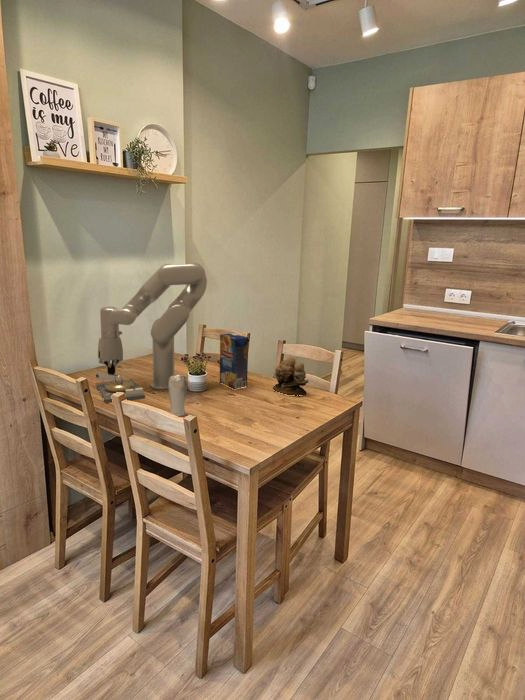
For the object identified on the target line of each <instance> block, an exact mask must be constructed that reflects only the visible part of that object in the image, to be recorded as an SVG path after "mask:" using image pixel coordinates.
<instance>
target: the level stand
mask: <svg viewBox="0 0 525 700" xmlns="http://www.w3.org/2000/svg"><path fill="white" fill-rule="evenodd" d="M128 380H130V381H132V382H133V383H134V388H133V389H127V390H125V392H124V393H125V394H126V399H127V401H132V400H139V399H145V398H146V396H145V393H144V388H143V387H139V386H138V385H137V384H136V382H135V381H134V379H133V378H128ZM107 382H108V381H103V382H96V383H95V386H97V387H96V389H97V390H98V392H99V391H100V392H99V394H100V393H101V394H100V395H102V396H101V397H103V398H104V400H105V401H104V400H103V401H104V403H105V402H112V399H111V395H112V394H113V393H114V392H108V391H106V390H105V384H106V383H107ZM103 398H102V399H103ZM112 403H113V402H112Z"/></svg>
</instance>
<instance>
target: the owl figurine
mask: <svg viewBox="0 0 525 700" xmlns="http://www.w3.org/2000/svg"><path fill="white" fill-rule="evenodd" d="M274 370H275V372H274V374H275V378H276V380H277V382H278V383H276V384H275V385H273V386H272V390H273V389H274V390H275V391H277V392H280V393H283V394H287V395H295V396H297V395H298V396H299V395H303V396H305V395H304V394H306V395H307V391H306V390H305V388H303V387H304V386H306V384H308V383H309V382H310V381H309V379H306V378H307V374H306V372H305V365H304V363H303V362H301V361H297V362H296V359H295V357H294V356H289V357H287V358H285V359H284V360H281V362H280V363H279V364H278V365H277V366H276V367H275V369H274ZM275 391H274V392H275ZM299 397H300V396H299Z"/></svg>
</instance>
